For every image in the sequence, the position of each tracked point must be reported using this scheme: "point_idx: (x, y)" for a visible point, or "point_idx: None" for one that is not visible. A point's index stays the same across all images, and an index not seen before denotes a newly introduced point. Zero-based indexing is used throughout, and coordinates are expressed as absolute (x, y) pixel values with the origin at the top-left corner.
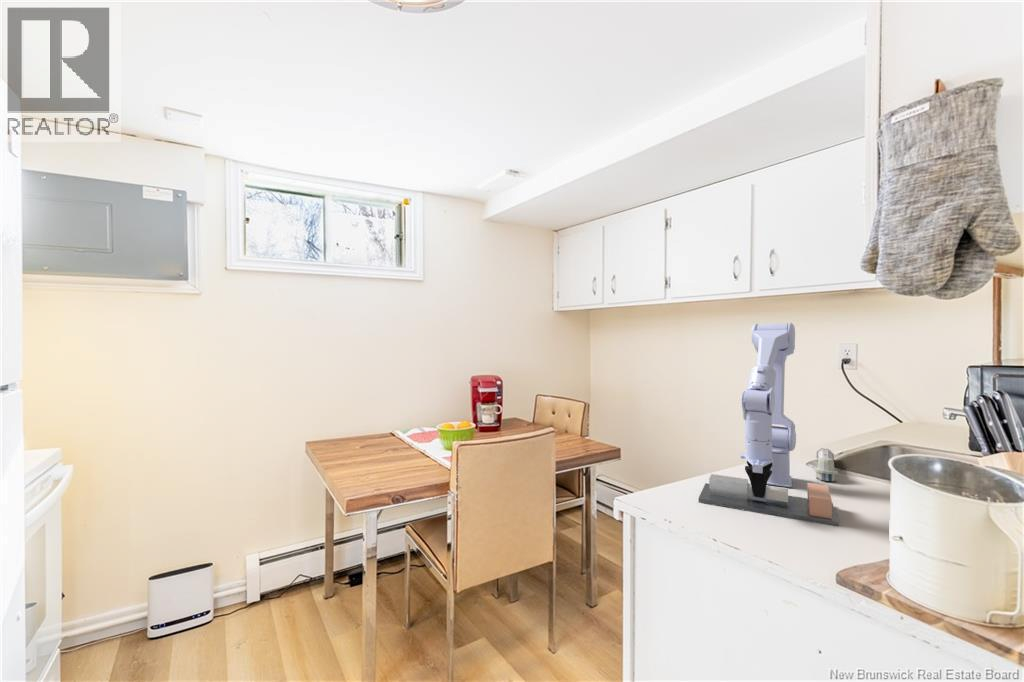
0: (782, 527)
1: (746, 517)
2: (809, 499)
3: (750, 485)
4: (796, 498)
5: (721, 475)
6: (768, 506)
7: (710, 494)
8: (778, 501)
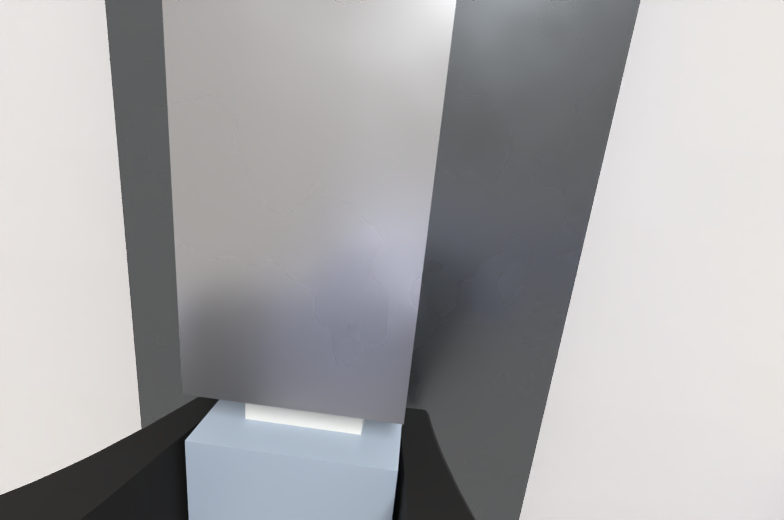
0: (6, 449)
1: (28, 274)
2: None
3: (291, 410)
4: None
5: (449, 37)
6: None
7: None
8: None
